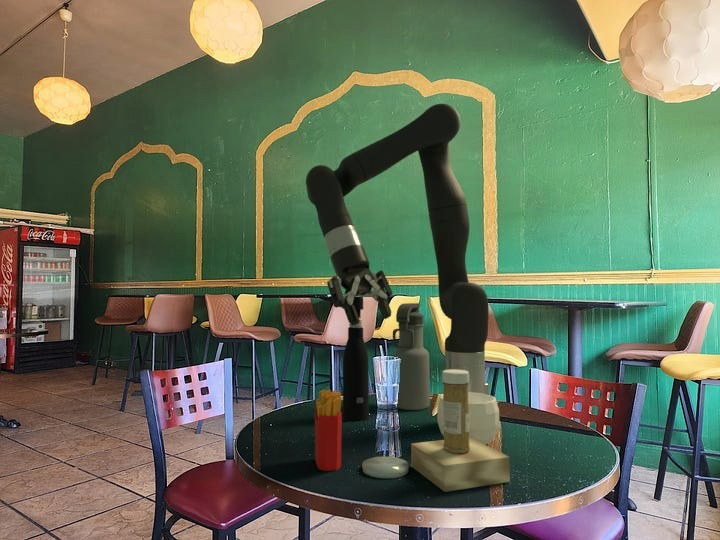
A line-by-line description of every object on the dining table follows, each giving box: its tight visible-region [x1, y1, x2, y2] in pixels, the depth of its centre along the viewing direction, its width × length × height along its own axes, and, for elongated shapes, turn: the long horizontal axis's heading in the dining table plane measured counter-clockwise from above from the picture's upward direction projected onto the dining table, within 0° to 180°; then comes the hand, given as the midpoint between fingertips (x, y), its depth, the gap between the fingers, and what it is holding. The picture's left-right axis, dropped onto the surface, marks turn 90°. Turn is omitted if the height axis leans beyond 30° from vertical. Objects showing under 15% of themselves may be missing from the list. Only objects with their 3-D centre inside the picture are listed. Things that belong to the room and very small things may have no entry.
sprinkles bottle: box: [441, 369, 470, 453], centre depth 85 cm, size 5×5×13 cm
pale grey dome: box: [361, 456, 409, 479], centre depth 86 cm, size 8×8×1 cm
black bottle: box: [342, 296, 370, 422], centre depth 123 cm, size 6×6×30 cm
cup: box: [436, 392, 500, 445], centre depth 100 cm, size 12×12×10 cm
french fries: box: [314, 389, 343, 472], centre depth 89 cm, size 9×4×13 cm, turn 13°
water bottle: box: [392, 302, 431, 411], centre depth 135 cm, size 10×10×28 cm
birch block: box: [410, 437, 511, 493], centre depth 84 cm, size 12×12×4 cm
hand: (372, 320), depth 102 cm, fingers open, 8 cm apart
